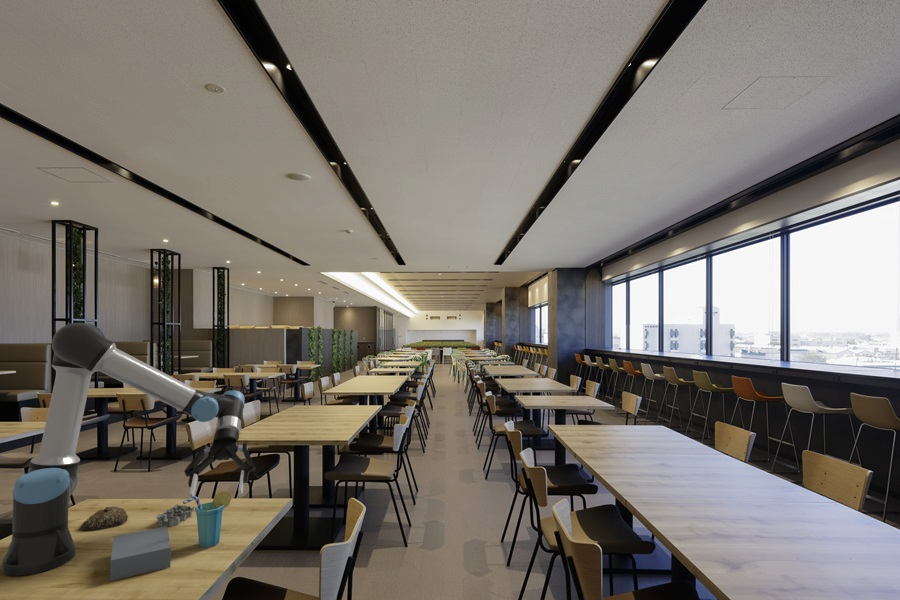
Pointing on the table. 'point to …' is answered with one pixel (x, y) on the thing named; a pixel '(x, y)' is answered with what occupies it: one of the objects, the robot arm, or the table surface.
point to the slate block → (140, 552)
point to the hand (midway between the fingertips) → (216, 494)
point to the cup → (210, 518)
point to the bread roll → (105, 519)
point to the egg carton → (179, 513)
